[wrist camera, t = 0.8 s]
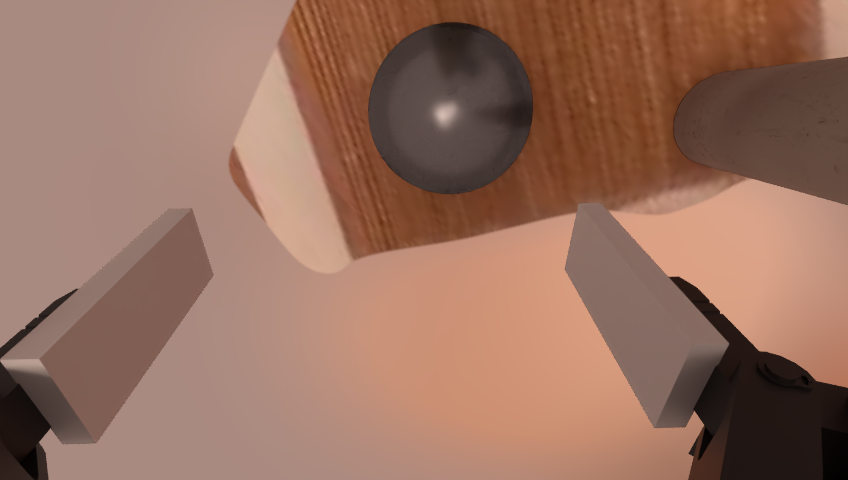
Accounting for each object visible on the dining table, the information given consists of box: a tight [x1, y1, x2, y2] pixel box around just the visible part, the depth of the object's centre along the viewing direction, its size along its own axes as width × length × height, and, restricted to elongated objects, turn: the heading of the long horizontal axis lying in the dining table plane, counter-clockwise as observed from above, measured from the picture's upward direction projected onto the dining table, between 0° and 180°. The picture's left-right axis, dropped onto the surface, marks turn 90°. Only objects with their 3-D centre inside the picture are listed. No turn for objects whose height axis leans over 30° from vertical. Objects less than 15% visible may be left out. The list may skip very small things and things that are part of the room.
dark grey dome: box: [368, 23, 533, 194], centre depth 36 cm, size 15×15×5 cm
